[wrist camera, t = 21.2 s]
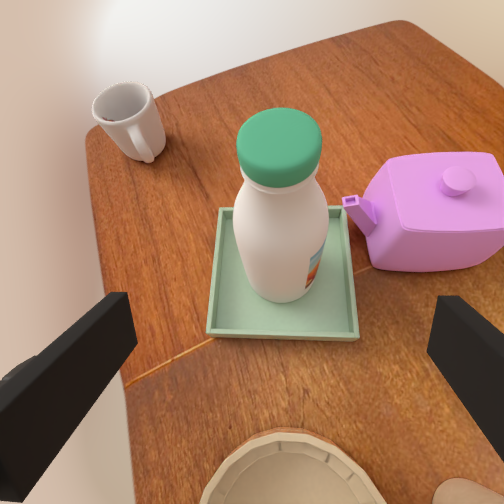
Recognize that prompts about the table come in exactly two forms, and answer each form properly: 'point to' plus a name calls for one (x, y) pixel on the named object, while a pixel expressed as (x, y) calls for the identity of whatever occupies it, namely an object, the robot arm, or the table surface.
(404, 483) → the table surface
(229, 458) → the bowl
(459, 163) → the teapot
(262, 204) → the milk bottle
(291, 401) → the table surface
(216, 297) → the tray
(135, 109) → the cup
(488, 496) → the candle
